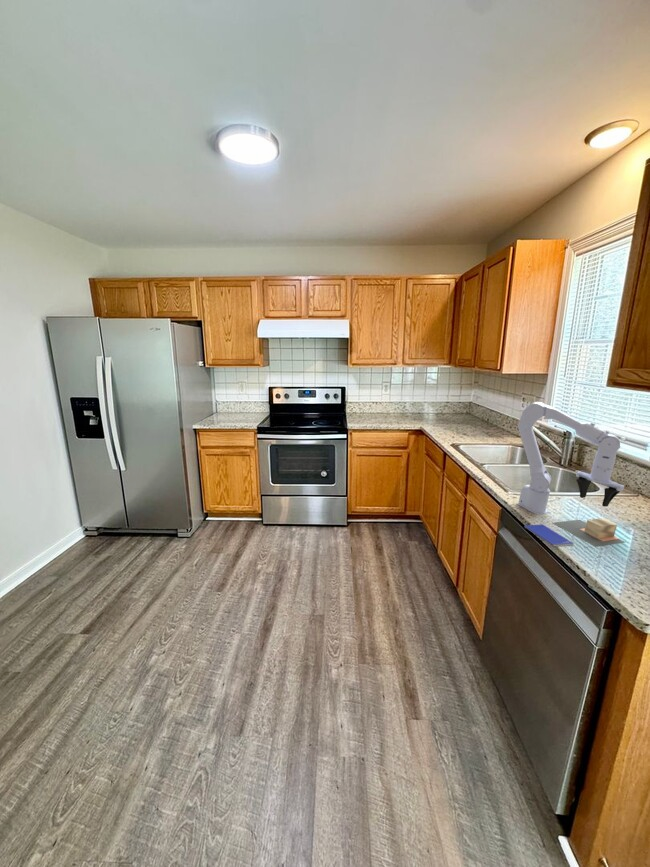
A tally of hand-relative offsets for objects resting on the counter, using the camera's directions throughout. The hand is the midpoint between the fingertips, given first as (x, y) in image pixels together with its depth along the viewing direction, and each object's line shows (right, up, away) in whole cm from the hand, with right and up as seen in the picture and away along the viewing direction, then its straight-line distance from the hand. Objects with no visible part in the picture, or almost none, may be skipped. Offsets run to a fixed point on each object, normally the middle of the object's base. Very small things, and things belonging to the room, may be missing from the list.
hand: (593, 501), depth 123 cm
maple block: (-3, -10, -6) cm, 12 cm away
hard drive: (-23, -11, -8) cm, 26 cm away
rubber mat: (-6, -10, -4) cm, 13 cm away
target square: (-3, -10, -5) cm, 12 cm away
